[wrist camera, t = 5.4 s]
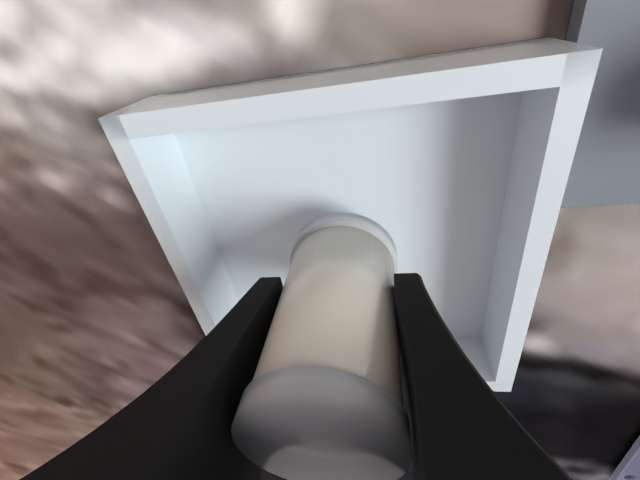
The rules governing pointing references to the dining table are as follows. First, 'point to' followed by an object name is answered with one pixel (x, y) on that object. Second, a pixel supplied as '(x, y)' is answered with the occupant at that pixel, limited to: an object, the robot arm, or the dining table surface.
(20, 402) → the dining table surface
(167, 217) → the parts tray
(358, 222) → the fuse
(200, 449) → the robot arm
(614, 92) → the fuse panel
